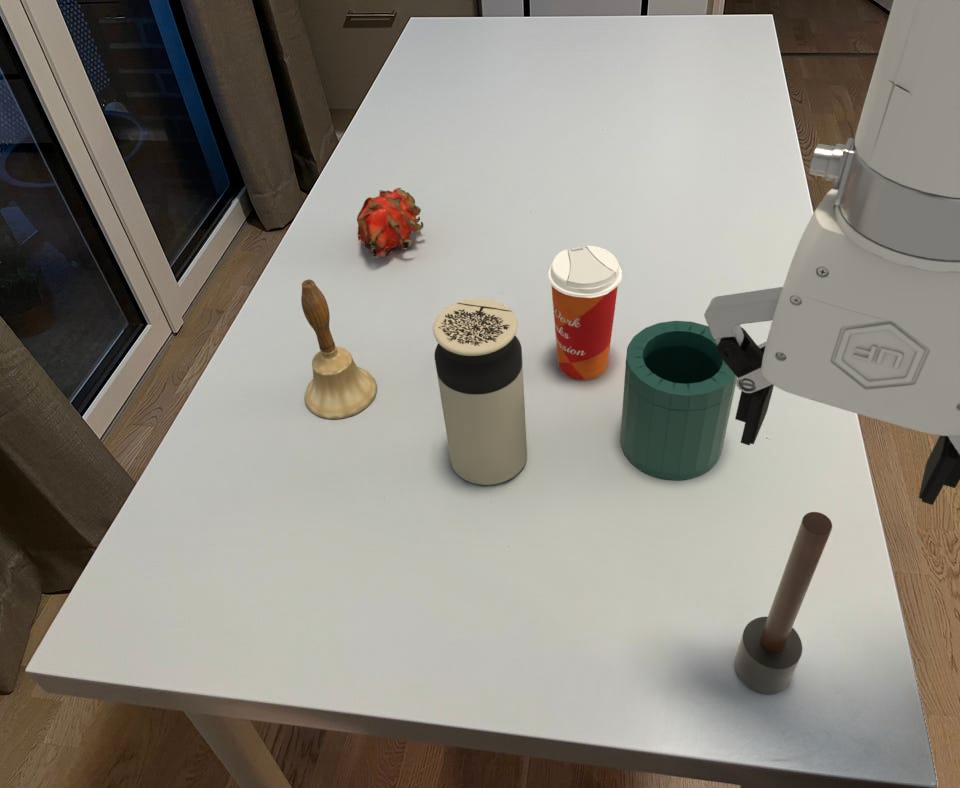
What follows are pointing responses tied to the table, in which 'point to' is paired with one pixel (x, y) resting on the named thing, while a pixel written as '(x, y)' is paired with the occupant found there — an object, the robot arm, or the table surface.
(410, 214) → the dragon fruit
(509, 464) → the travel mug
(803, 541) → the peg on round base
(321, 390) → the hand bell
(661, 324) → the jar
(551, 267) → the paper cup
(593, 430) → the table surface
